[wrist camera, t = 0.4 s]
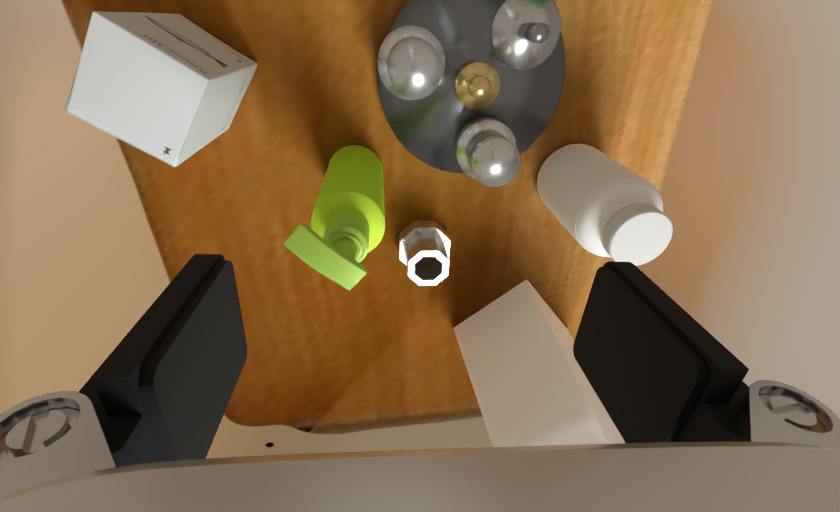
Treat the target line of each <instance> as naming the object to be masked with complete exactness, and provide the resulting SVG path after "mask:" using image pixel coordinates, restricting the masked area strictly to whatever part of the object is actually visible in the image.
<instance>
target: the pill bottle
mask: <svg viewBox="0 0 840 512" xmlns="http://www.w3.org/2000/svg"><path fill="white" fill-rule="evenodd" d="M537 190H538V194H539V196H540V198H541V200H542V201H543V203H544V204H545V205H546V206H547V207H548V208H549V210H550V211H551V212H552V213H553V214H554V215H555V216H556V218H557V219H558V220H559V221H560V222H561V223H562V224H563V226H564V227H565V228H566V229H567V230H568V231H569V232H570V234H571V235H572V236H573V237H574V238H575V239H576V240H577V241H578V243H579V244H580V245H581V246H582V247H583V248H584V249H586V250H587V251H589V252H591V253H593V254H595V255H598V256H603V257H611V258H612V259H613V260H614V261H616V262H631V263H633V264H634V265H635V266H637V265H641V264H644V263H647V262H649V261H651V260H653V259H654V258H656V257H657V256H658V255H660V254H661V253H662V252H663V251H664V249H665V248H666V247H667V245H668V244H669V242H670V239H671V237H672V231H673V229H672V223H671V220H670V218H669V217H668V216H667V215H666V214H665V213H663V203H662V199H661V196H660V194H659V192H658V190H657V189H656V188H655V186H654V185H653V184H652V183H650V182H649V181H647V180H646V179H644V178H643V177H641V176H640V175H638V174H636V173H635V172H633V171H632V170H630V169H628V168H627V167H625V166H624V165H622V164H620V163H619V162H617V161H615V160H614V159H612V158H611V157H609V156H607V155H606V154H604V153H603V152H601V151H599V150H598V149H596V148H594V147H592V146H589V145H586V144H570V145H567V146H564V147H562V148H560V149H558V150H556V151H555V152H553V153H552V154H551V155H550V156H549V157H548V158H547V159H546V160H545V162H544V163H543V165H542V166H541V168H540V171H539V173H538V177H537Z"/></svg>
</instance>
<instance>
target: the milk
mask: <svg viewBox="0 0 840 512" xmlns="http://www.w3.org/2000/svg"><path fill="white" fill-rule="evenodd" d="M453 329H454V332H455V335H456V338H457V341H458V344H459V347H460V350H461V353H462V356H463V359H464V362H465V365H466V368H467V371H468V374H469V377H470V380H471V383H472V386H473V389H474V392H475V395H476V398H477V401H478V404H479V407H480V410H481V413H482V416H483V419H484V422H485V425H486V428H487V430H488V434H489V437H490V439H491V442H492V445H493V447H514V446H545V445H581V444H618V443H625V441H624V439H623V438H622V436H621V434H620V433H619V431H618V429H617V428H616V426H615V424H614V423H613V421H612V419H611V418H610V416H609V414H608V413H607V411H606V409H605V408H604V406H603V404H602V403H601V401H600V399H599V398H598V396H597V394H596V393H595V391H594V389H593V388H592V386H591V384H590V383H589V381H588V379H587V378H586V376H585V374H584V373H583V371H582V369H581V368H580V366H579V364H578V363H577V361H576V359H575V357H574V354H573V345H574V340H573V339H572V337H571V335H570V333H569V331H568V329H567V328H566V327H565V325H564V324H563V323H562V322H561V321H560V319H559V318H558V317H557V316H556V314H555V313H554V312H553V311H552V310H551V308H550V307H549V306H548V305H547V303H546V302H545V301H544V300H543V299H542V297H541V296H540V295H539V294H538V292H537V291H536V290H535V289H534V288H533V286H532V285H531V284H530V283H529V281H528V280H527V279H526V280H525V281H523V282H522V283H520V284H519V285H517V286H516V287H514V288H513V289H511V290H510V291H508V292H507V293H505V294H504V295H502V296H501V297H499V298H498V299H496V300H495V301H493V302H492V303H490V304H489V305H487V306H486V307H484V308H482V309H481V310H479V311H478V312H476V313H475V314H473V315H472V316H470V317H469V318H467V319H466V320H464V321H463V322H461V323H460V324H458V325H457V326H455V327H454V328H453Z"/></svg>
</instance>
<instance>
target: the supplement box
mask: <svg viewBox="0 0 840 512" xmlns="http://www.w3.org/2000/svg"><path fill="white" fill-rule="evenodd" d="M256 68H257V63H256V62H255V61H253V60H251V59H249V58H248V57H246V56H244V55H243V54H241V53H239V52H238V51H236V50H234V49H233V48H231V47H229V46H228V45H226V44H225V43H223V42H222V41H220V40H218V39H217V38H215V37H214V36H212V35H211V34H209V33H208V32H206V31H205V30H203V29H202V28H200V27H199V26H197V25H196V24H194V23H193V22H191V21H190V20H188V19H187V18H185V17H184V16H182V15H181V14H171V13H141V12H99V11H93V12H92V16H91V20H90V24H89V27H88V31H87V35H86V39H85V42H84V46H83V50H82V54H81V58H80V61H79V64H78V67H77V71H76V74H75V77H74V80H73V84H72V87H71V90H70V94H69V97H68V100H67V104H66V106H65V110H66V111H67V112H68V113H69V114H71V115H73V116H75V117H77V118H79V119H81V120H83V121H85V122H87V123H89V124H91V125H93V126H95V127H97V128H99V129H101V130H103V131H105V132H107V133H109V134H111V135H113V136H115V137H116V138H118V139H120V140H122V141H124V142H126V143H128V144H130V145H132V146H134V147H136V148H138V149H140V150H142V151H144V152H146V153H148V154H150V155H152V156H154V157H156V158H158V159H160V160H162V161H164V162H166V163H168V164H169V165H171V166H173V167H177V166H178V165H179V164H181V163H182V162H183V161H185V160H186V159H188V158H189V157H190V156H192V155H193V154H194V153H196V152H197V151H199V150H200V149H201V148H203V147H204V146H205V145H207V144H208V143H210V142H211V141H212V140H214V139H215V138H217V137H218V136H219V135H221V134H222V133H223V132H225V131H226V130H228V129H229V127H230V125H231V123H232V121H233V119H234V116H235V114H236V112H237V109H238V107H239V105H240V103H241V101H242V98H243V96H244V94H245V92H246V90H247V88H248V85H249V83H250V81H251V79H252V77H253V74H254V72H255V70H256Z"/></svg>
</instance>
